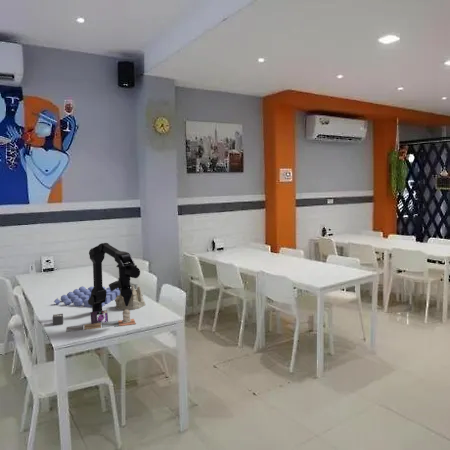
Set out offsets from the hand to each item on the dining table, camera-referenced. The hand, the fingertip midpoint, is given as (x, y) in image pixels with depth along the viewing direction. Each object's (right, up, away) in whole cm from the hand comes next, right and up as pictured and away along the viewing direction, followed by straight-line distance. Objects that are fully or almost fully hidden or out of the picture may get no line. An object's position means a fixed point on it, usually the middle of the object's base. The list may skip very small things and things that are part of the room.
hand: (125, 303), depth 233 cm
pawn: (0, -10, +1) cm, 10 cm away
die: (-38, -12, +2) cm, 40 cm away
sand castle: (-4, -8, +33) cm, 34 cm away
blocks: (-36, -7, +52) cm, 64 cm away
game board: (-13, -11, -3) cm, 17 cm away
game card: (-15, -11, +3) cm, 19 cm away
